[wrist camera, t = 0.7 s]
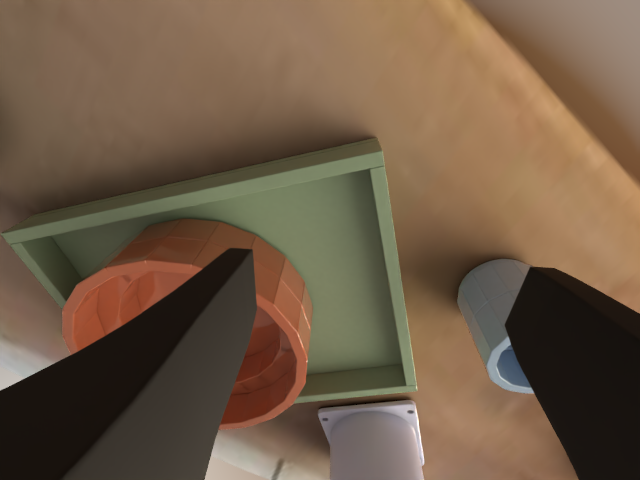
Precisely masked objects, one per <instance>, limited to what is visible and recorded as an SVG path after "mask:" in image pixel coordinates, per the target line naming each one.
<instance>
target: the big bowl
mask: <svg viewBox="0 0 640 480" xmlns="http://www.w3.org/2000/svg"><path fill="white" fill-rule="evenodd" d="M229 248H243V249H253V259H254V273H255V287H256V300H257V311H256V316H255V320H254V325H253V329H252V333H251V338H250V342H249V345H248V348H247V351H246V353H245V356H244V359H243V362H242V365H241V367H240V370H239V373H238V376H237V378H236V381H235V384H234V387H233V390H232V392H231V395H230V398H229V401H228V403H227V406H226V409H225V412H224V414H223V417H222V420H221V423H220V426H219V429H218V430H224V429H235V428H245V427H249V426H252V425H255V424H258V423H261V422H264V421H267V420H270V419H273V418H274V417H276V416H277V415H279V414H280V413H281V412H283V411H284V410H286V409H287V408H289V407H290V406H291V405H292V404H293V403H294V401H295V400H296V398H297V397H298V395H299V393H300V392H301V390H302V389H303V387H304V385H305V383H306V375H307V365H308V355H309V345H310V335H311V325H312V314H313V305H312V302H311V299H310V296H309V293H308V290H307V287H306V284H305V282H304V280H303V278H302V277H301V276H300V274H299V273H298V272H297V271H296V269H295V268H294V267H293V265H292V264H291V263H290V262H289V260H288V259H287V258H286V257H285V256H284V255H283V254H282V253H280V252H279V251H278V250H276V249H275V248H273V247H272V246H271V245H269V244H268V243H266V242H265V241H264V240H262V239H261V238H259V237H258V236H256V235H255V234H252V233H249V232H247V231H244V230H241V229H239V228H236V227H233V226H231V225H228V224H225V223H223V222H218V221H207V220H197V219H186V218H183V219H177V220H172V221H167V222H162V223H157V224H153V225H148V226H147V227H145V228H144V229H142V230H141V231H139V232H137V233H136V234H134V235H133V236H131V237H129V238H128V239H126V240H125V241H124V242H123V243H122V244H120V245H119V246H118V247H117V248H116V249H115V250H114V251H113V252H112V253H111V254H110V255H108V256H107V257H106V258H105V259H104V260H103V261H102V262H101V263H100V264H99V265H98V266H96V267H95V268H94V269H93V270H92V271H91V272H90V273H89V274H88V275H87V276H86V277H84V278H83V279H82V280H81V281H80V282H79V283H78V284H77V285H76V286H75V288H74V290H73V291H72V293H71V295H70V297H69V298H68V300H67V302H66V303H65V305H64V307H63V310H62V336H63V339H64V341H65V344H66V346H67V348H68V350H69V353H70V355H72V354H74V353H76V352H78V351H79V350H81V349H83V348H85V347H87V346H88V345H90V344H92V343H93V342H95V341H97V340H99V339H100V338H102V337H104V336H106V335H107V334H109V333H111V332H112V331H114V330H116V329H117V328H119V327H121V326H122V325H124V324H125V323H127V322H129V321H130V320H132V319H133V318H135V317H136V316H138V315H139V314H141V313H142V312H144V311H145V310H146V309H148V308H149V307H151V306H152V305H154V304H155V303H157V302H158V301H160V300H161V299H162V298H164V297H165V296H167V295H168V294H170V293H171V292H173V291H174V290H175V289H177V288H178V287H179V286H181V285H182V284H183V283H185V282H186V281H187V280H189V279H190V278H191V277H192V276H194V275H195V274H196V273H198V272H199V271H200V270H202V269H203V268H204V267H205V266H207V265H208V264H209V263H211V262H212V261H213V260H214V259H216V258H217V257H218V256H219V255H221V254H222V253H223V252H225V251H226V250H227V249H229Z"/></svg>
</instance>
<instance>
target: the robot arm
mask: <svg viewBox="0 0 640 480" xmlns="http://www.w3.org/2000/svg"><path fill="white" fill-rule="evenodd" d="M256 311H257V300H256V287H255V273H254V259H253V249H243V248H229V249H227V250H226V251H225V252H223V253H222V254H221V255H219V256H218V257H217V258H216V259H214V260H213V261H212V262H211V263H209V264H208V265H207V266H205V267H204V268H203V269H202V270H200V271H199V272H198V273H196V274H195V275H194V276H192V277H191V278H190V279H189V280H187V281H186V282H185V283H183V284H182V285H181V286H179V287H178V288H177V289H175V290H174V291H173V292H171V293H170V294H168V295H167V296H165V297H164V298H162V299H161V300H160V301H158V302H157V303H155V304H154V305H152V306H151V307H149V308H148V309H146V310H145V311H144V312H142V313H141V314H139V315H138V316H136V317H135V318H133V319H132V320H130V321H129V322H127V323H125V324H124V325H122V326H121V327H119V328H117V329H116V330H114V331H112V332H111V333H109V334H107V335H106V336H104V337H102V338H100V339H99V340H97V341H95V342H93V343H92V344H90V345H88V346H87V347H85V348H83V349H81V350H79V351H78V352H76V353H74V354H72V355H70V356H68V357H66V358H64V359H62V360H60V361H58V362H56V363H54V364H52V365H51V366H49V367H47V368H45V369H43V370H41V371H39V372H37V373H35V374H33V375H31V376H29V377H27V378H25V379H23V380H21V381H19V382H17V383H15V384H13V385H11V386H9V387H8V388H5V389H3V390H1V391H0V480H204V479H205V475H206V471H207V468H208V464H209V460H210V456H211V452H212V449H213V445H214V441H215V438H216V435H217V432H218V429H219V426H220V423H221V420H222V417H223V414H224V412H225V409H226V406H227V403H228V401H229V398H230V395H231V392H232V390H233V387H234V384H235V381H236V378H237V376H238V373H239V370H240V367H241V365H242V362H243V359H244V356H245V353H246V351H247V348H248V345H249V342H250V338H251V333H252V329H253V325H254V320H255V316H256ZM505 328H506V331H507V334H508V337H509V340H510V343H511V346H512V348H513V351H514V353H515V356H516V358H517V361H518V363H519V365H520V367H521V369H522V371H523V373H524V375H525V376H526V378H527V380H528V382H529V384H530V386H531V388H532V390H533V392H534V394H535V395H536V397H537V399H538V401H539V403H540V405H541V406H542V408H543V410H544V412H545V414H546V416H547V418H548V419H549V421H550V423H551V425H552V427H553V429H554V431H555V432H556V434H557V436H558V438H559V440H560V442H561V444H562V445H563V447H564V449H565V451H566V453H567V455H568V457H569V459H570V461H571V463H572V465H573V467H574V469H575V471H576V474H577V476H578V478H579V480H640V314H639V313H637V312H635V311H634V310H632V309H630V308H628V307H627V306H625V305H623V304H621V303H620V302H618V301H616V300H614V299H612V298H611V297H609V296H607V295H605V294H604V293H602V292H600V291H598V290H596V289H595V288H593V287H591V286H589V285H587V284H585V283H584V282H582V281H580V280H578V279H576V278H574V277H572V276H570V275H568V274H566V273H564V272H562V271H559V270H557V269H555V268H543V267H530V268H529V270H528V273H527V275H526V277H525V279H524V282H523V284H522V286H521V288H520V291H519V293H518V295H517V297H516V300H515V302H514V304H513V307H512V309H511V311H510V313H509V316H508V318H507V320H506V322H505ZM318 417H319V420H320V422H321V425H322V427H323V430H324V432H325V435H326V437H327V440H328V442H329V444H330V480H424V477H423V472H422V467H421V466H422V465H424V456H423V450H422V443H421V437H420V430H419V424H418V418H417V411H416V405H415V402H414V401H412V400H403V401H393V402H382V403H372V404H361V405H351V406H340V407H330V408H321V409H319V411H318Z"/></svg>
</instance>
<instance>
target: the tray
mask: <svg viewBox="0 0 640 480" xmlns="http://www.w3.org/2000/svg"><path fill="white" fill-rule="evenodd" d="M183 218H186V219H197V220H207V221H218V222H223V223H225V224H228V225H231V226H233V227H236V228H239V229H241V230H244V231H247V232H249V233H252V234H255V235H256V236H258V237H259V238H261V239H262V240H264V241H265V242H266V243H268V244H269V245H271V246H272V247H273V248H275V249H276V250H278V251H279V252H280V253H282V254H283V255H284V256H285V257H286V258H287V259H288V260H289V262H290V263H291V264H292V265H293V267H294V268H295V269H296V271H297V272H298V273H299V274H300V276H301V277H302V278H303V280H304V282H305V284H306V287H307V290H308V293H309V296H310V299H311V302H312V305H313V314H312V325H311V335H310V345H309V355H308V365H307V375H306V383H305V385H304V387H303V389H302V390H301V392H300V393H299V395H298V397H297V398H296V400H295V401H294V403H302V402H312V401H322V400H332V399H342V398H352V397H362V396H372V395H382V394H393V393H403V392H413V391H417V383H416V376H415V369H414V362H413V355H412V349H411V342H410V335H409V328H408V321H407V314H406V307H405V300H404V294H403V287H402V280H401V273H400V266H399V259H398V252H397V245H396V239H395V232H394V225H393V218H392V211H391V204H390V197H389V191H388V184H387V177H386V170H385V163H384V156H383V151H382V148H381V145H380V143H379V141H378V138H372V139H368V140H363V141H359V142H354V143H350V144H345V145H341V146H336V147H332V148H328V149H323V150H319V151H314V152H310V153H305V154H301V155H296V156H292V157H288V158H283V159H279V160H274V161H270V162H265V163H261V164H256V165H252V166H247V167H243V168H239V169H234V170H230V171H225V172H221V173H216V174H212V175H207V176H203V177H199V178H194V179H190V180H185V181H181V182H176V183H172V184H167V185H163V186H159V187H154V188H150V189H145V190H141V191H136V192H132V193H127V194H123V195H119V196H114V197H110V198H105V199H101V200H96V201H92V202H87V203H83V204H79V205H74V206H70V207H65V208H61V209H56V210H52V211H47V212H43V213H39V214H35V215H33V216H31V217H29V218H28V219H26V220H24V221H22V222H20V223H18V224H17V225H15V226H13V227H11V228H10V229H8V230H6V231H4V232H2V233H1V235H2V237H3V238H4V239H5V240H6V241H7V243H8V244H10V246H11V248H12V249H13V250H14V251H15V252H16V254H17V255H18V256H19V257H20V259H21V260H22V261H23V262H24V263H25V265H26V266H27V267H28V268H29V270H30V271H31V272H32V273H33V274H34V276H35V277H36V278H37V279H38V281H39V282H40V283H41V284H42V285H43V287H44V288H45V289H46V290H47V292H48V293H49V294H50V295H51V296H52V298H53V299H54V300H55V301H56V303H57V304H58V305H59V306H60V307H61V309H62V310H63V307H64V305H65V303H66V302H67V300H68V298H69V297H70V295H71V293H72V291H73V290H74V288H75V286H76V285H77V284H78V283H79V282H80V281H81V280H82V279H83V278H84V277H86V276H87V275H88V274H89V273H90V272H91V271H92V270H93V269H94V268H95V267H96V266H98V265H99V264H100V263H101V262H102V261H103V260H104V259H105V258H106V257H107V256H108V255H110V254H111V253H112V252H113V251H114V250H115V249H116V248H117V247H118V246H119V245H120V244H122V243H123V242H124V241H125V240H126V239H128V238H129V237H131V236H133V235H134V234H136V233H137V232H139V231H141V230H142V229H144V228H145V227H147V226H148V225H153V224H157V223H162V222H167V221H172V220H177V219H183Z"/></svg>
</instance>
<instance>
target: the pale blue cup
mask: <svg viewBox="0 0 640 480" xmlns="http://www.w3.org/2000/svg"><path fill="white" fill-rule="evenodd" d="M530 267H533V266H531V265H528V264H525V263H523V262H520V261H518V260H513V259H496V260H492V261H488V262H486V263H483V264H481V265H479V266H477V267H476V268H474V269H473V270H471V271H470V272H469V273H468V274H467V275H466V276H465V277H464V279H463V280H462V282H461V284H460V286H459V290H458V299H457V304H458V307H459V309H460V312H461V315H462V317H463V319H464V321H465V324H466V326H467V328H468V330H469V333H470V335H471V337H472V339H473V342H474V344H475V346H476V348H477V351H478V353H479V355H480V357H481V360H482V362H483V364H484V366H485V369H486V371H487V373H488V375H489V377H490V379H491V380H492V381H493V382H494V383H496V384H497V385H499V386H500V387H502V388H503V389H505V390H509V391H514V392H520V393H534V392H533V390H532V388H531V386H530V384H529V382H528V380H527V378H526V376H525V375H524V373H523V371H522V369H521V367H520V365H519V363H518V361H517V358H516V356H515V353H514V351H513V348H512V346H511V343H510V340H509V337H508V334H507V331H506V328H505V322H506V320H507V318H508V316H509V313H510V311H511V309H512V307H513V304H514V302H515V300H516V297H517V295H518V293H519V291H520V288H521V286H522V284H523V282H524V279H525V277H526V275H527V273H528V270H529V268H530Z"/></svg>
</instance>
